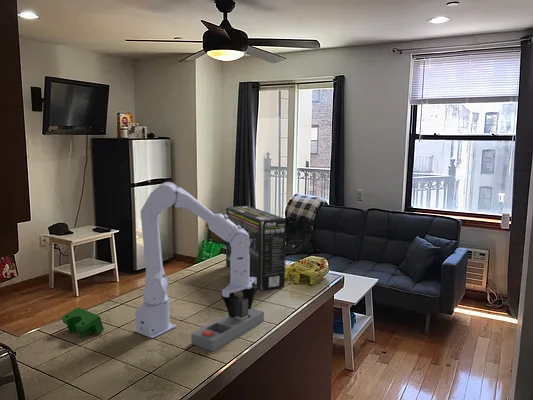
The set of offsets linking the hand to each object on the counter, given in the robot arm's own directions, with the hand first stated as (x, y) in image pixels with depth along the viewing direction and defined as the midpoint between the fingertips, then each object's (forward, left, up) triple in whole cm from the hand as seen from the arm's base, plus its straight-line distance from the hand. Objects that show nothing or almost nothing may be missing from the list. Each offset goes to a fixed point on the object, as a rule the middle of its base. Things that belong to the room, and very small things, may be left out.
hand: (240, 312), depth 134 cm
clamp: (-30, +35, -5) cm, 47 cm away
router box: (+41, +25, -4) cm, 48 cm away
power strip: (-5, 0, -4) cm, 7 cm away
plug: (0, 0, -4) cm, 4 cm away
